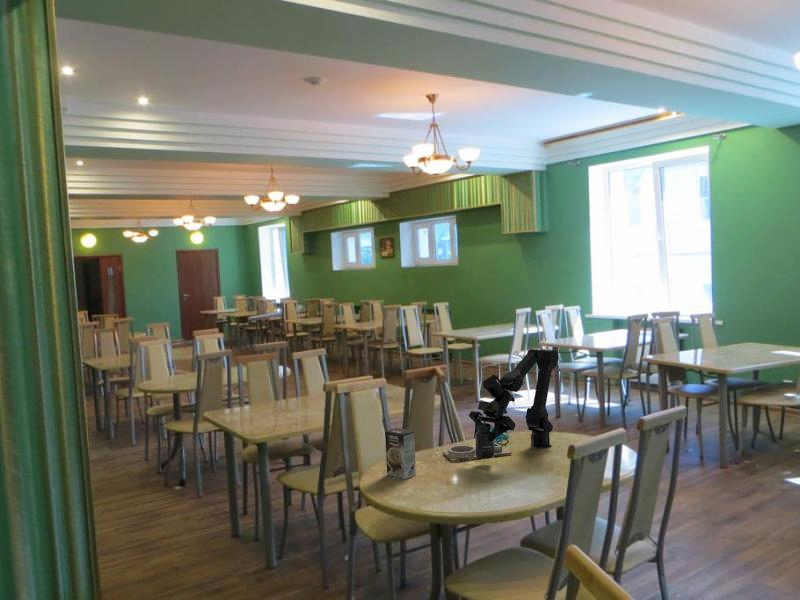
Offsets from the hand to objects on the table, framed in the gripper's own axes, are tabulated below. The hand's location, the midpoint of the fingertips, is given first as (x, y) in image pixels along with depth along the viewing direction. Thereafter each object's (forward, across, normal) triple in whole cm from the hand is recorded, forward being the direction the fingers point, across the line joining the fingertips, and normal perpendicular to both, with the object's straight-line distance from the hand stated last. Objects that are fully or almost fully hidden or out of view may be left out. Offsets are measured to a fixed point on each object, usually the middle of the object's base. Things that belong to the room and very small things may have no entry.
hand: (482, 439), depth 244 cm
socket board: (0, -12, +14) cm, 18 cm away
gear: (-13, -17, +27) cm, 35 cm away
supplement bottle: (+4, 0, +6) cm, 7 cm away
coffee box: (+26, -16, -12) cm, 32 cm away
